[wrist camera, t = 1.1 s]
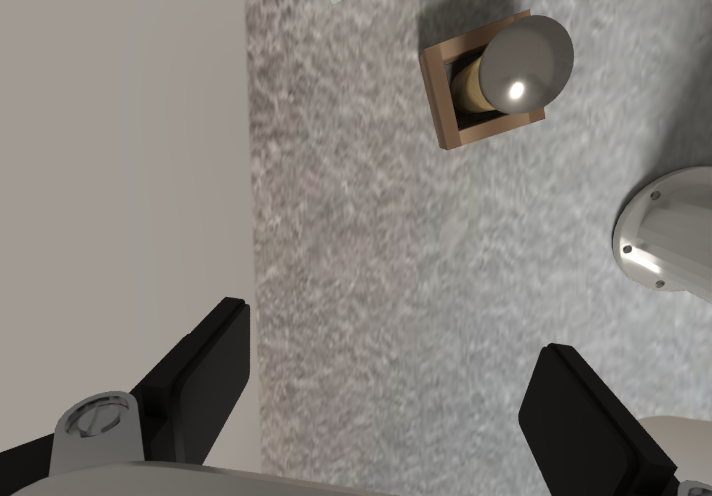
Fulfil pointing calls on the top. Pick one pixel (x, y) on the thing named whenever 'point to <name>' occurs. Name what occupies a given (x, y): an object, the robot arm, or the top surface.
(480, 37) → the mount
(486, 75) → the pin
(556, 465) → the robot arm
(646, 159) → the top surface
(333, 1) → the socket
